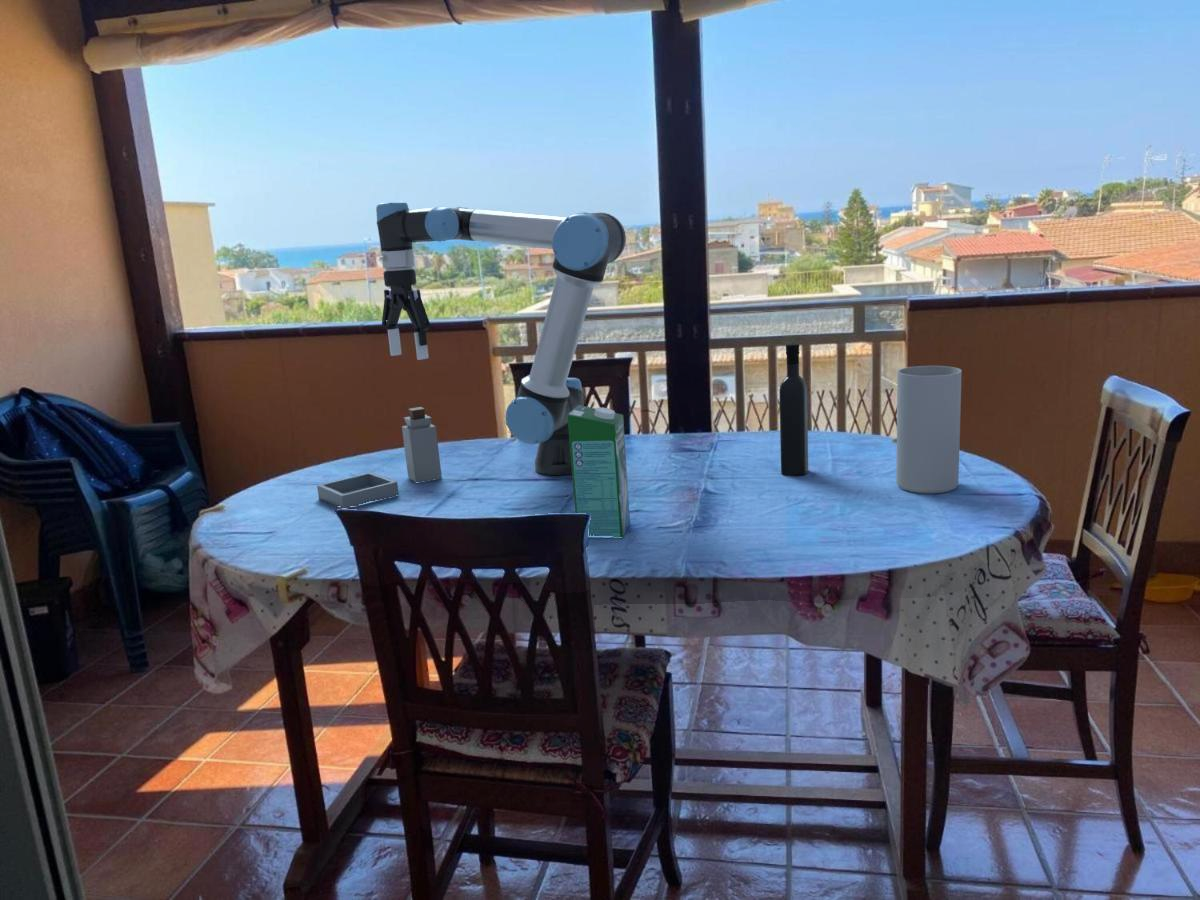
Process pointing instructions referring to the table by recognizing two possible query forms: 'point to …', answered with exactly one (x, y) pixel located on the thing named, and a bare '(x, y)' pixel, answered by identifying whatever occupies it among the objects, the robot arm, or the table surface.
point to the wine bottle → (793, 417)
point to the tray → (357, 490)
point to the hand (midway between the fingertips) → (409, 357)
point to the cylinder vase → (928, 428)
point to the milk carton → (599, 469)
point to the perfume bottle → (421, 447)
